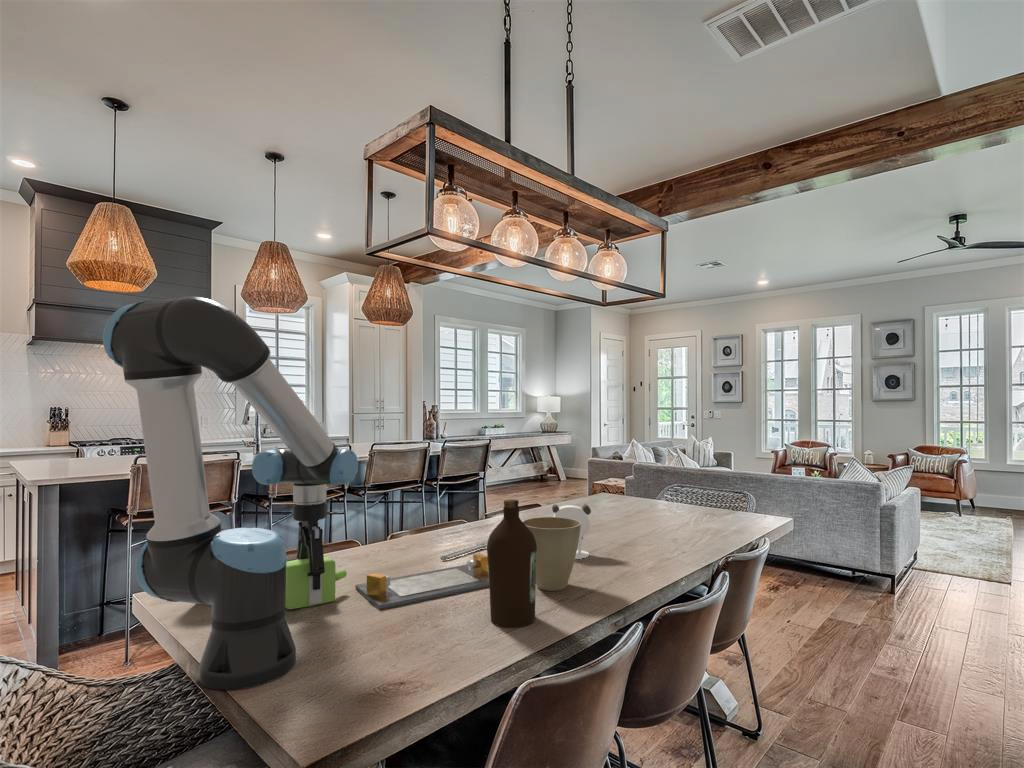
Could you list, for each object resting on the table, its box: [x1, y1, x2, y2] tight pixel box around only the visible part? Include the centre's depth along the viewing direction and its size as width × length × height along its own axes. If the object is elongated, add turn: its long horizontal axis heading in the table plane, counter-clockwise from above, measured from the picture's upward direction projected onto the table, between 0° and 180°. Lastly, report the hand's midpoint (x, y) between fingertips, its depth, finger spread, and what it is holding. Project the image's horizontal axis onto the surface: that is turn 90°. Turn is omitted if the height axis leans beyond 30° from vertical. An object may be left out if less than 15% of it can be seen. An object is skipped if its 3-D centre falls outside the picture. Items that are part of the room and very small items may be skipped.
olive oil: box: [486, 498, 537, 629], centre depth 117 cm, size 11×11×25 cm
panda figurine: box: [551, 504, 592, 560], centre depth 169 cm, size 12×11×15 cm
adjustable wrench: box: [439, 539, 488, 560], centre depth 174 cm, size 25×6×2 cm, turn 138°
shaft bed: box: [355, 552, 489, 610], centre depth 140 cm, size 18×33×6 cm, turn 123°
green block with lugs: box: [285, 556, 348, 610], centre depth 131 cm, size 18×10×10 cm, turn 125°
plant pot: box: [522, 516, 581, 592], centre depth 139 cm, size 15×15×16 cm
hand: (309, 596), depth 131 cm, fingers closed on green block with lugs, 10 cm apart
